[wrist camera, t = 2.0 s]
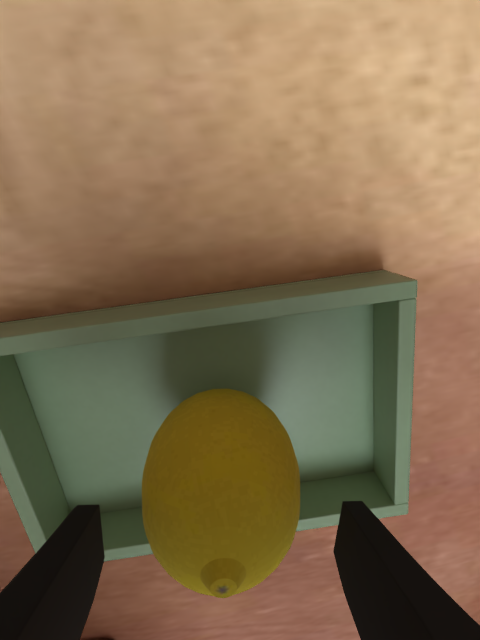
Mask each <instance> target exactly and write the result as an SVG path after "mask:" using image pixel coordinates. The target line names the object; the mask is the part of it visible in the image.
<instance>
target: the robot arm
mask: <svg viewBox="0 0 480 640" xmlns="http://www.w3.org/2000/svg"><path fill="white" fill-rule="evenodd" d="M334 555H335V559H336V563H337V567H338V571H339V575H340V579H341V583H342V586H343V590H344V593H345V596H346V599H347V602H348V605H349V608H350V610H351V613H352V616H353V619H354V622H355V624H356V627H357V630H358V633H359V636H360V638H361V640H480V625H479V624H478V623H476V622H475V621H474V620H473V619H472V618H471V617H470V616H469V615H468V614H467V613H466V612H465V611H464V610H463V609H462V608H461V607H460V606H459V605H458V604H457V603H456V602H455V601H454V600H453V599H452V598H451V597H450V596H449V595H448V594H447V593H446V592H445V591H444V590H443V589H442V588H441V587H440V586H439V585H438V584H437V583H436V582H435V581H434V580H433V579H432V578H431V576H430V575H429V574H428V573H427V572H426V571H425V570H424V569H423V568H422V567H421V566H420V565H419V564H418V563H417V562H416V560H415V559H414V558H413V557H412V556H411V555H410V554H409V553H408V552H407V551H406V550H405V548H404V547H403V546H402V545H401V544H400V543H399V542H398V541H397V540H396V538H395V537H394V536H393V535H392V534H391V533H390V532H389V531H388V529H387V528H386V527H385V526H384V525H383V524H382V523H381V522H380V520H379V519H378V518H377V517H376V516H375V515H374V514H373V512H372V511H371V510H370V509H369V508H368V507H367V506H366V505H365V503H364V502H363V501H343V502H342V508H341V513H340V519H339V524H338V530H337V535H336V541H335V547H334ZM104 558H105V555H104V545H103V535H102V525H101V515H100V505H77V506H76V507H75V508H74V509H73V510H72V511H71V512H70V513H69V515H68V516H67V517H66V518H65V519H64V521H63V522H62V523H61V524H60V525H59V527H58V528H57V529H56V530H55V531H54V533H53V534H52V535H51V536H50V537H49V538H48V540H47V541H46V542H45V543H44V544H43V545H42V547H41V548H40V549H39V550H38V551H37V552H36V554H35V555H34V556H33V557H32V558H31V559H30V560H29V562H28V563H27V564H26V565H25V566H24V567H23V568H22V569H21V570H20V572H19V573H18V574H17V575H16V576H15V577H14V578H13V579H12V581H11V582H10V583H9V584H8V585H7V586H6V587H5V588H4V589H3V590H2V591H1V593H0V640H80V637H81V634H82V631H83V629H84V626H85V623H86V620H87V617H88V615H89V612H90V609H91V606H92V603H93V600H94V596H95V593H96V589H97V585H98V582H99V578H100V574H101V570H102V566H103V562H104Z"/></svg>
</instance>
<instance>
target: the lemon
mask: <svg viewBox="0 0 480 640" xmlns="http://www.w3.org/2000/svg"><path fill="white" fill-rule="evenodd" d="M299 515H300V473H299V467H298V462H297V458H296V455H295V452H294V449H293V446H292V443H291V440H290V437H289V435H288V433H287V431H286V429H285V428H284V426H283V425H282V423H281V422H280V420H279V419H278V418H277V416H276V415H275V413H274V412H273V411H272V410H271V409H270V408H269V407H268V406H266V405H265V404H264V403H263V402H261V401H260V400H259V399H257V398H256V397H254V396H252V395H249V394H247V393H245V392H243V391H238V390H233V389H211V390H207V391H203V392H199V393H197V394H195V395H193V396H191V397H189V398H187V399H186V400H184V401H183V402H181V403H180V404H179V405H178V406H177V407H176V408H175V409H174V410H172V411H171V412H170V413H169V415H168V416H167V417H166V418H165V420H164V422H163V423H162V425H161V426H160V428H159V429H158V431H157V432H156V434H155V436H154V438H153V440H152V442H151V445H150V448H149V452H148V455H147V459H146V462H145V466H144V471H143V477H142V516H143V525H144V529H145V533H146V536H147V539H148V542H149V544H150V547H151V550H152V552H153V554H154V556H155V558H156V559H157V560H158V561H159V563H160V564H161V565H162V567H163V568H164V569H165V570H166V572H167V573H168V574H169V575H170V576H171V577H173V578H174V579H175V580H177V581H178V582H179V583H181V584H182V585H183V586H185V587H186V588H189V589H191V590H193V591H195V592H198V593H201V594H205V595H210V596H215V597H218V598H227V597H230V596H232V595H234V594H238V593H241V592H243V591H246V590H248V589H250V588H252V587H254V586H255V585H257V584H259V583H261V582H262V581H263V580H264V579H265V578H266V577H267V576H268V575H270V574H271V573H272V572H273V571H274V570H275V569H276V568H277V567H278V565H279V564H280V562H281V561H282V559H283V558H284V556H285V555H286V553H287V552H288V550H289V549H290V546H291V544H292V541H293V539H294V535H295V532H296V529H297V526H298V521H299Z"/></svg>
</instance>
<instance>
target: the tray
mask: <svg viewBox="0 0 480 640" xmlns="http://www.w3.org/2000/svg"><path fill="white" fill-rule="evenodd" d="M416 297H417V280H415V279H412V278H409V277H405V276H402V275H399V274H396V273H392V272H389V271H386V270H378V271H371V272H364V273H357V274H350V275H342V276H335V277H328V278H321V279H313V280H306V281H299V282H292V283H284V284H277V285H270V286H263V287H255V288H248V289H241V290H234V291H226V292H219V293H212V294H205V295H197V296H190V297H183V298H176V299H168V300H161V301H154V302H147V303H139V304H132V305H125V306H118V307H110V308H103V309H96V310H89V311H81V312H74V313H67V314H60V315H52V316H45V317H38V318H31V319H24V320H16V321H9V322H2V323H0V472H1V475H2V477H3V479H4V482H5V484H6V486H7V489H8V491H9V493H10V495H11V498H12V500H13V502H14V505H15V507H16V509H17V512H18V514H19V516H20V519H21V521H22V523H23V526H24V528H25V530H26V533H27V535H28V537H29V540H30V542H31V544H32V546H33V549H34V551H35V553H36V552H37V551H38V550H39V549H40V548H41V547H42V545H43V544H44V543H45V542H46V541H47V540H48V538H49V537H50V536H51V535H52V534H53V533H54V531H55V530H56V529H57V528H58V527H59V525H60V524H61V523H62V522H63V521H64V519H65V518H66V517H67V516H68V515H69V513H70V512H71V511H72V510H73V509H74V508H75V507H76V506H77V505H100V515H101V525H102V535H103V545H104V555H105V558H104V561H110V560H117V559H123V558H129V557H136V556H142V555H148V554H153V552H152V550H151V547H150V544H149V542H148V539H147V536H146V533H145V529H144V525H143V516H142V477H143V471H144V466H145V462H146V459H147V455H148V452H149V448H150V445H151V442H152V440H153V438H154V436H155V434H156V432H157V431H158V429H159V428H160V426H161V425H162V423H163V422H164V420H165V418H166V417H167V416H168V415H169V413H170V412H171V411H172V410H174V409H175V408H176V407H177V406H178V405H179V404H180V403H181V402H183V401H184V400H186V399H187V398H189V397H191V396H193V395H195V394H197V393H199V392H203V391H207V390H211V389H233V390H238V391H243V392H245V393H247V394H249V395H252V396H254V397H256V398H257V399H259V400H260V401H261V402H263V403H264V404H265V405H266V406H268V407H269V408H270V409H271V410H272V411H273V412H274V413H275V415H276V416H277V418H278V419H279V420H280V422H281V423H282V425H283V426H284V428H285V429H286V431H287V433H288V435H289V437H290V440H291V443H292V446H293V449H294V452H295V455H296V458H297V462H298V467H299V473H300V515H299V521H298V526H297V529H296V531H302V530H308V529H315V528H321V527H327V526H334V525H338V524H339V519H340V513H341V508H342V502H343V501H363V502H364V503H365V505H366V506H367V507H368V508H369V509H370V510H371V511H372V512H373V514H374V515H375V516H376V517H377V518H385V517H391V516H398V515H404V514H408V501H409V475H410V450H411V425H412V399H413V374H414V348H415V323H416Z"/></svg>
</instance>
